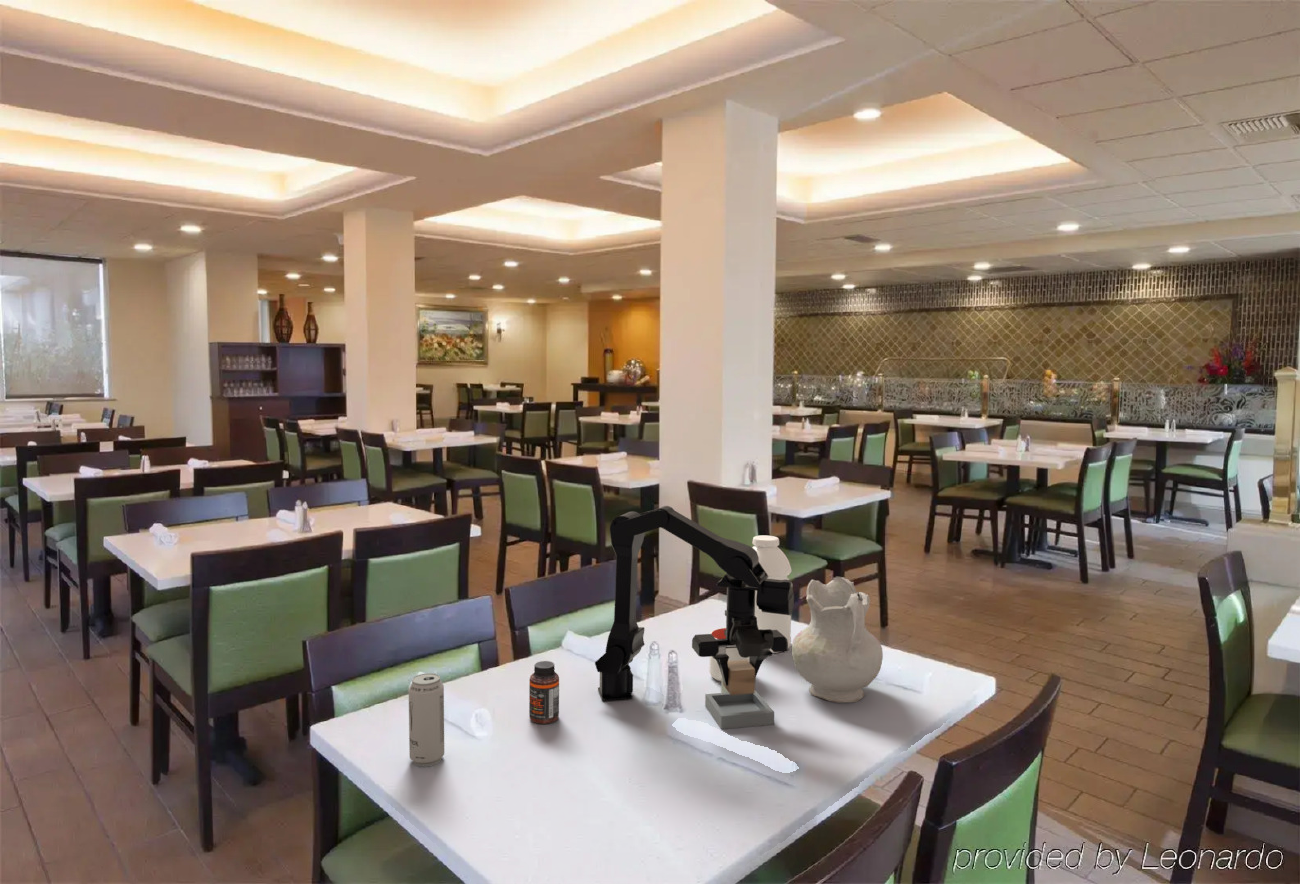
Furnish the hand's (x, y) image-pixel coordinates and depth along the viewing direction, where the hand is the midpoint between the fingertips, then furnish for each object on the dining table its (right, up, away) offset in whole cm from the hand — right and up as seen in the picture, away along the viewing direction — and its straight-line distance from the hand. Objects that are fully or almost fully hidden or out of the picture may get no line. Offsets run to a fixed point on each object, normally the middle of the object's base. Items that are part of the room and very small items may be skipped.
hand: (738, 683), depth 163 cm
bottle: (+11, -3, +43) cm, 44 cm away
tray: (0, -7, +1) cm, 7 cm away
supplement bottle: (-39, -7, -2) cm, 40 cm away
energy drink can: (-58, -8, -19) cm, 62 cm away
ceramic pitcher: (+23, -6, +12) cm, 27 cm away
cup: (+1, -5, +21) cm, 22 cm away
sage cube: (0, -6, +10) cm, 11 cm away
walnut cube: (0, -1, 0) cm, 1 cm away
